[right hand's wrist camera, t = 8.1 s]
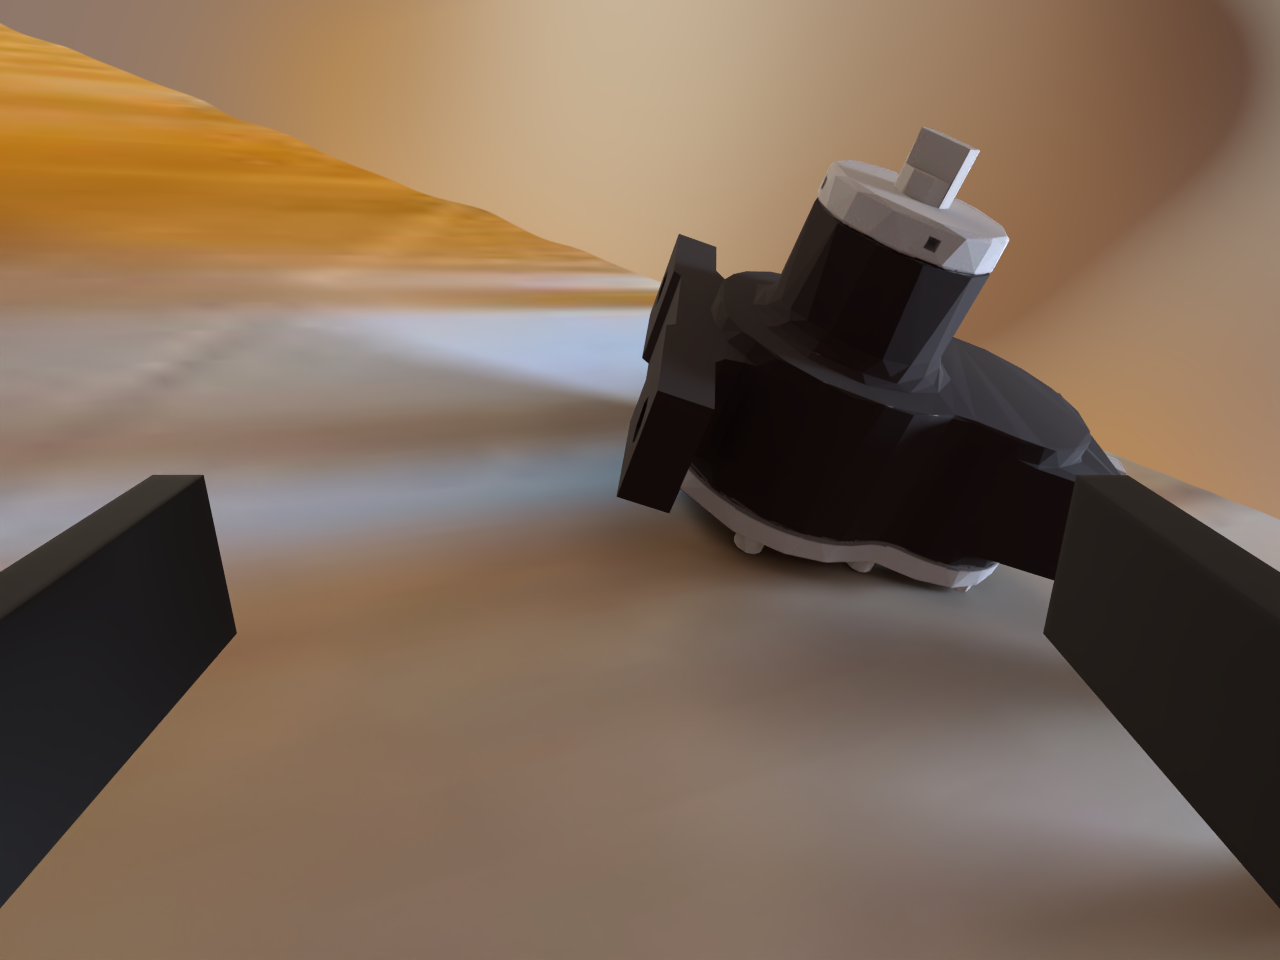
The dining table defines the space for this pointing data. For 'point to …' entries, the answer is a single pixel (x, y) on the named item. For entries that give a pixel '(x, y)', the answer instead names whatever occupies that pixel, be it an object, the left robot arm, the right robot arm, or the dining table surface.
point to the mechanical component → (859, 391)
